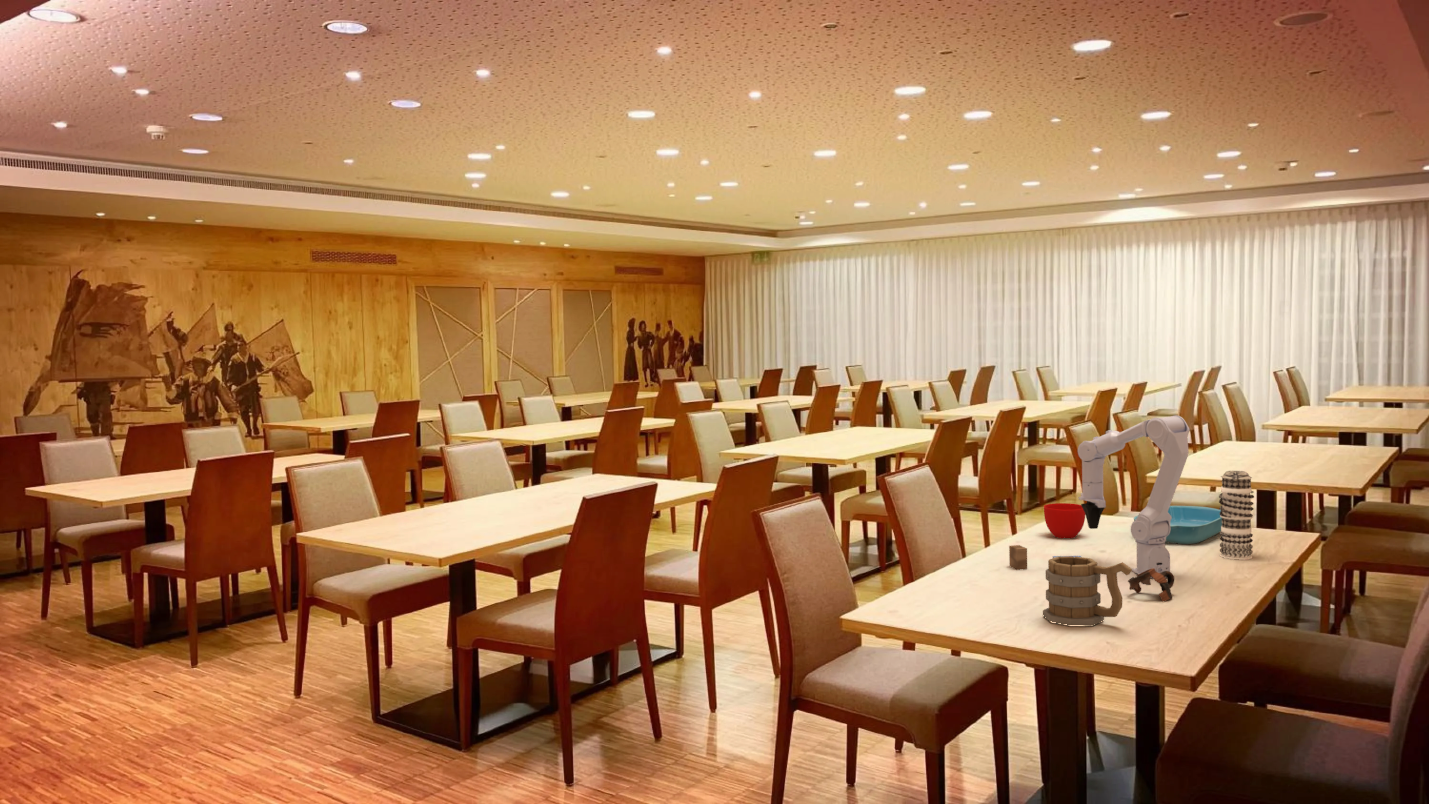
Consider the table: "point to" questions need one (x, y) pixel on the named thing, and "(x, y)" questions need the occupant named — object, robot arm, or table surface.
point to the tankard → (1080, 590)
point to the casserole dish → (1192, 524)
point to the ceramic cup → (1064, 519)
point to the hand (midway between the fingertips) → (1093, 528)
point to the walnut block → (1018, 557)
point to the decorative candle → (1236, 515)
